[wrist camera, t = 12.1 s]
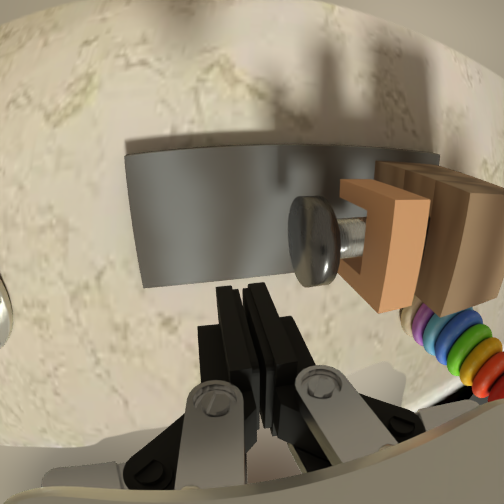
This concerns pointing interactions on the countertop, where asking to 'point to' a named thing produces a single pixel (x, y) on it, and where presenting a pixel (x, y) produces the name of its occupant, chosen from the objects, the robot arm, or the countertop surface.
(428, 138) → the countertop surface
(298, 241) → the shaft
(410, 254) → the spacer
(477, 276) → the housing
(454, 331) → the stacking toy
